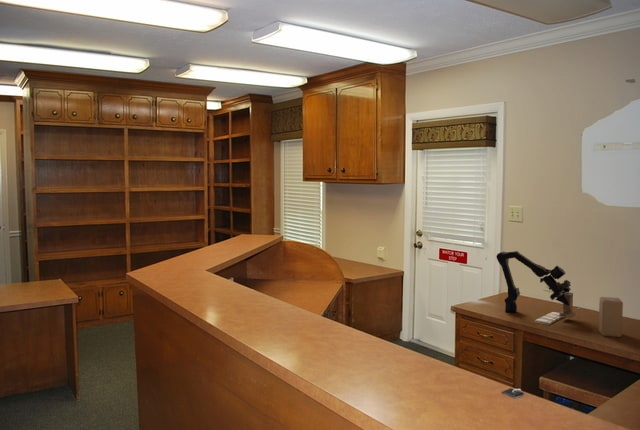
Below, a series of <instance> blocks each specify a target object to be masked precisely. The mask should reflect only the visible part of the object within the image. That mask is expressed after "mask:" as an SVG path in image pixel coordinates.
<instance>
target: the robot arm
mask: <svg viewBox="0 0 640 430" xmlns="http://www.w3.org/2000/svg"><path fill="white" fill-rule="evenodd" d="M495 256H496V260H497V261H498V264H499V266H501V269H502V272H503V276H504V279H505V282H506V283H505V284H506V286H507V297H506V298H505V299H504V303H505V306H504V307H505V308H504V310H505V311H504V312H505V313H513V314H514V313H516V312H517V311H518V310H517V307H518V306H517V305H518V304H517V302H516V301H517V300H518V299H519V298H520V295H521V292H520V288H519V287H517V286H516V285H515V283H514V279H513V276H512V272H511V269H510V266H509V265H510V264H509V261H510V259H516V260H517V261H519V262H520V263H522V264H523V265H525V266H526V267H527V268H529V269H530V270H531V271H532V272H533V274H535V275H536V277H538V278H539V279H540V280H539V283H545V285H547V287H548V290H549V291H550V290H551V292H552V294H551V295H550V296H549V298H550V300H551V301H554V300H555V301H556V302H557V301H558V302H559V303H561V304H563V303H564V304H566V305H568V306H569V305H570V304H569V303H568V301H567V300H566V299H565V297H564V294H563V293H565V292H570V291H571V290H572V288H570V287H571V282H570V280H568V279H565V280H564V281H563V282H560V281H558V282H557V281H556V280H559V279H561V278H563V276H565V275H566V274H567V273H566V272H565V270H564V269H563V268H562V267H560V266H559V265H556V266H554V267H553V269H547V268H546V267H545V266H542V265H540V264H537V263H535V262H533V261H532V260H530V259H529V258H528V257H526V256H525V255H523V254H522V253H520V252H519V251H517V250H514V251H509V252H506V251H500V252H499V253H497V254H496V255H495Z"/></svg>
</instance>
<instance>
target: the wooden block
mask: <svg viewBox="0 0 640 430" xmlns="http://www.w3.org/2000/svg"><path fill="white" fill-rule="evenodd" d="M598 305H599V308H598V310H599V311H598V332H599V333H600V335H601V336H602V337H614V338H621V337H622V334H623V332H622V331H623V312H624V311H623V308H624V307H623V306H624V302H623V301H622V300H621V299H620V298H619V297H609V296H600V297H599V303H598Z"/></svg>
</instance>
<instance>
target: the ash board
mask: <svg viewBox="0 0 640 430" xmlns="http://www.w3.org/2000/svg"><path fill="white" fill-rule="evenodd" d="M559 313H560V312H555V311H551V312H550V313H546V314H545V315H543V316H541V317H539V318H537V319H535V320H534V323H537V324H542V325H546V326H549V325H551V324H553V323H555V322H557V321H559V320H561V319H562V318H565V317H564V316H559Z"/></svg>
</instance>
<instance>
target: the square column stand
mask: <svg viewBox="0 0 640 430" xmlns="http://www.w3.org/2000/svg"><path fill="white" fill-rule="evenodd" d="M563 294H564V297H565V299H566V300H567V301H568V303H569V304H570V305H569V306H568V305H566V304H564V303H562V310H561V311H560V312H558V313H559V316H564V317H563V318H565V317H566V318H570V319H572V318H574V317H576V316H577V311H573V309H574V308H573V307H574V306H573V303H574V300H573V299H574V292H570V291H569V292H565V293H563Z"/></svg>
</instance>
